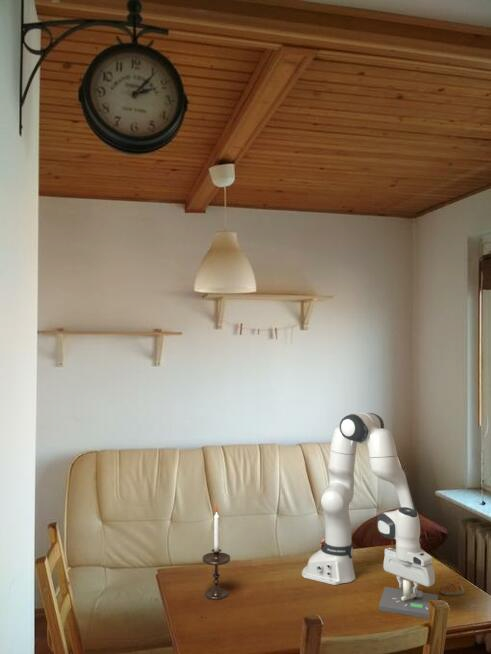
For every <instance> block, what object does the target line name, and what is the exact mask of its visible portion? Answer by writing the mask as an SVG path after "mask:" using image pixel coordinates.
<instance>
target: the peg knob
mask: <svg viewBox="0 0 491 654" xmlns="http://www.w3.org/2000/svg"><path fill="white" fill-rule="evenodd" d="M402 580H403V597H401V600H403V601H404V600H407V599H410V598H413V597H415V598H423V593H424V592H423V591H422V590H420V589H419V590H418V589H417V593H416V594H414V593H412V594H411V588H412V583H411V582H412V581H411V580H408V579H405V578H402Z"/></svg>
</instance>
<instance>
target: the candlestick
mask: <svg viewBox="0 0 491 654" xmlns="http://www.w3.org/2000/svg"><path fill="white" fill-rule="evenodd" d="M214 509H215V515H214V516H213V523H214V524H213V549H212V550H211V552H208V553H206V554H204V555H203V556H202V562H203V563H204V564H206V565H210V566H214V573H213V574H212V577H213V579H214V580H213V584H214V587H212V588H211V587H210V588H208V589H206V590H205V591H204V597H205V598H206V597H207V598H206V599H208V600H211V601H221V600H224V599H226V598H227V597H228V596H229V592H228V590H227V589H225V588H223V587H219V583H220V580H219V579H220V577H221V574H220V573H219V566H223V565H227V564H228V563H230V562H231V555H229V553H225V552H222V549H220V515H219V514H218V506H217V504H216V503H215V504H214Z"/></svg>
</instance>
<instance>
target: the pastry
mask: <svg viewBox="0 0 491 654" xmlns="http://www.w3.org/2000/svg"><path fill="white" fill-rule="evenodd" d="M439 593H441V594H443V595H445V596H460V595H463V594H465V588H464V586H463V584H462V583H461V582H460V581H456V580H454V581H450V582H449V581H448V582H446V583H444V584H443V585H442V586H441V587H440V588H439Z"/></svg>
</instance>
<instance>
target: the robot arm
mask: <svg viewBox="0 0 491 654" xmlns="http://www.w3.org/2000/svg"><path fill="white" fill-rule="evenodd" d="M358 443H359V444H362V443H364V444H366V446H367V449H368V457H369V458H368V459H369V466H370V469H371V472H372V473H373V474H374V476H376V477H377V478H379V479H381V480H383V481H385V482H388V483H390V484H392V485H393V486H394V488H395V489H396V490H395V491H396V494H397V497H398V501H399V505H400V507H398V508H397V509H396V510H393V511H391V510H390V511H385V512H382V513H380V514H379V515H378V517H377V520H376V527H377V530H378V533H379V534H380V535H381V536H382V537H384V538H386V539H392V540H393V539H394V540H395V548H394V547H391V546H387V547H385V548H384V559H383V567H382V568H383V570H384V571H385V572H387V573H390V574H391V575H394V576H396V580H397V581H398V584H399V585H398V587H399V588H398V589H403V579H404V578H405V579H408V580H411V582H413V585H414V586H411V592H412V593H414V594H416V593H417V590H418V588H419V587H420V585H421V586H424V587H427V588H430V587H432V586H434V584H435V582H436V581H435V579H436V577H435V567H434V566H433V561H434V558H433V556H431V554H429V553H427V552H426V551H425V550H424V549H422V548H421V543H420V537H421V527H422V519H421V517H420V514H419V511H418V509H417V506H416V503H415V499H414V497H413V496H414V495H413V491H412V489H411V485H410V484H411V483H410V482H409V478H408V474H407V472H406V471H405V469H403V468H402V466H401V465H400V462H399V457H398V453H397V452H398V451H397V446H396V443H395V440H394V436H393V434H392V432H391V431H390V430H389V429H386V428H385V422H384V420H383V418H382V417H381V416H379V415H378V414H377V413H373V412H368V413H367V412H359V413H353V414H352V413H350V414H348V415H346V416H344V417H343V418H342V419H341V421H340V422H339V425H337V426H336V427H335V428H334V430H333V433H332V436H331V440H330V445H329V446H330V447H329V455H328V462H327V463H328V464H327V469H328V485H327V488H326V489H324V491H323V492H322V494H321V495H322V496H321V500H320V503H321V507H322V512H323V519H324V538H322V539H321V542H320V545H319V548H320V549H319V550H318V551H316V552H315V553H314V554H312V555H311V556H310V557H309V559H308V561H307V565H306V566H304V568H303V569H302V570H301V577H303V578H304V579H308V580H312V581H316V582H319V583H325V584H327V585H328V584H329V585H335V586H336V585H340V584H344V583H345V584H346V583H351V582H353V581H355V580H356V578H357V577H356V576H357V575H356V573H355V569H354V562H353V557H354V555H353V554H354V547H353V542H352V523H351V518H350V511H349V510H350V509H349V506H350V504H351V502H352V501H353V499H354V492H355V491H354V489H355V466H356V458H357V457H356V456H357V445H358Z"/></svg>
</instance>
